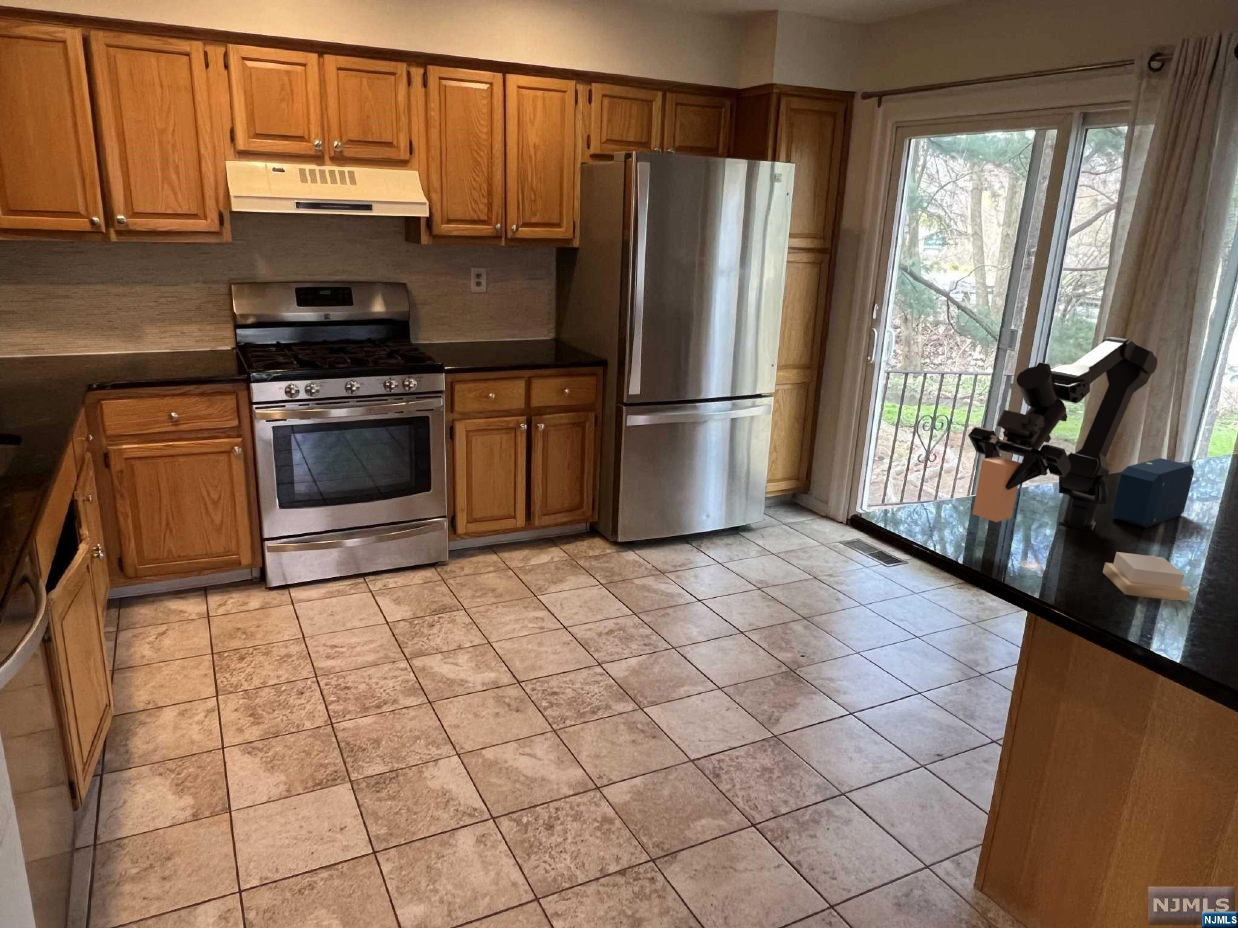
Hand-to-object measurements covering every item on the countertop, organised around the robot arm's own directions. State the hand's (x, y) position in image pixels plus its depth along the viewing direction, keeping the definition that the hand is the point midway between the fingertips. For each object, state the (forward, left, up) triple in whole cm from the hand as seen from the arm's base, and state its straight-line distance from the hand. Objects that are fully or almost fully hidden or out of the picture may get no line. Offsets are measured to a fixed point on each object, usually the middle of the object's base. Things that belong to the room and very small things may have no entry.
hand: (993, 484), depth 160 cm
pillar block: (-1, +1, -7) cm, 7 cm away
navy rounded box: (-50, +25, -14) cm, 58 cm away
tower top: (-2, +27, -12) cm, 30 cm away
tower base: (-2, +27, -14) cm, 31 cm away
